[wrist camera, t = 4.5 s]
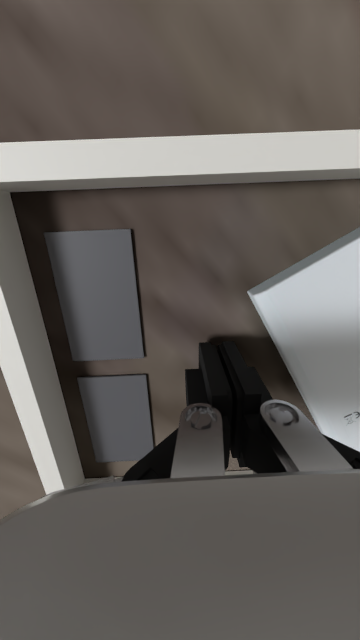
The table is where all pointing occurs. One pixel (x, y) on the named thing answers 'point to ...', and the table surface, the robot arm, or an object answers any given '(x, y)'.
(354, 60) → the table surface
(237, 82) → the table surface
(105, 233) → the box
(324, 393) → the external hard drive
